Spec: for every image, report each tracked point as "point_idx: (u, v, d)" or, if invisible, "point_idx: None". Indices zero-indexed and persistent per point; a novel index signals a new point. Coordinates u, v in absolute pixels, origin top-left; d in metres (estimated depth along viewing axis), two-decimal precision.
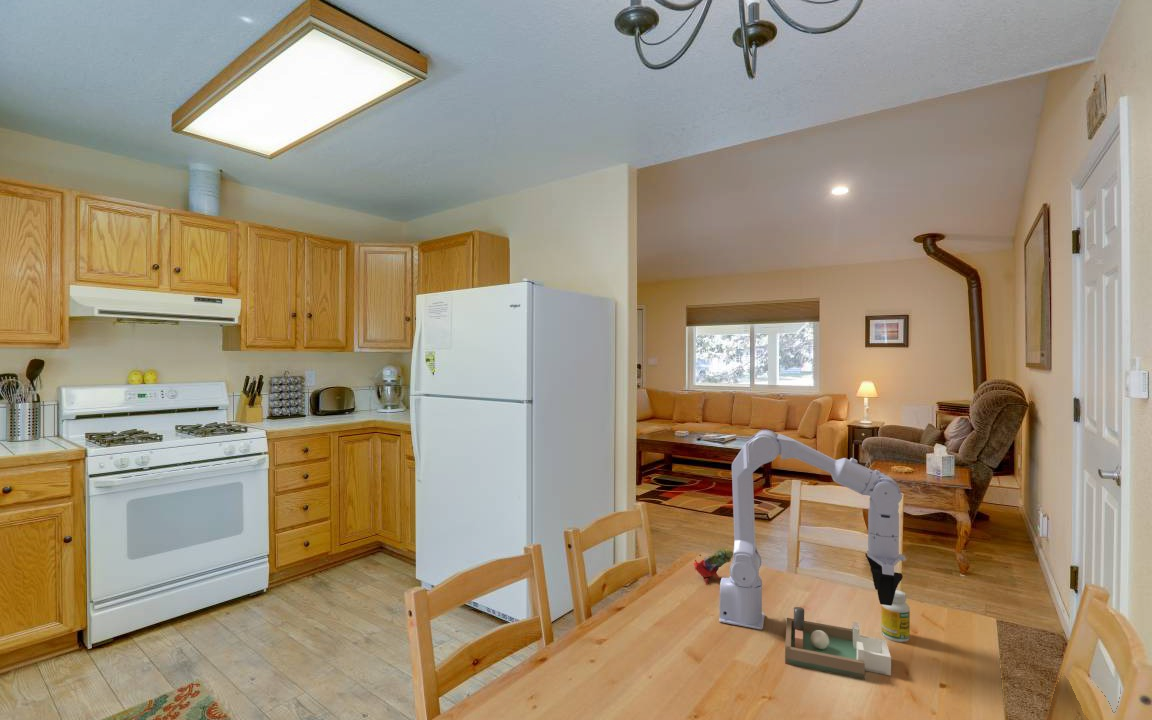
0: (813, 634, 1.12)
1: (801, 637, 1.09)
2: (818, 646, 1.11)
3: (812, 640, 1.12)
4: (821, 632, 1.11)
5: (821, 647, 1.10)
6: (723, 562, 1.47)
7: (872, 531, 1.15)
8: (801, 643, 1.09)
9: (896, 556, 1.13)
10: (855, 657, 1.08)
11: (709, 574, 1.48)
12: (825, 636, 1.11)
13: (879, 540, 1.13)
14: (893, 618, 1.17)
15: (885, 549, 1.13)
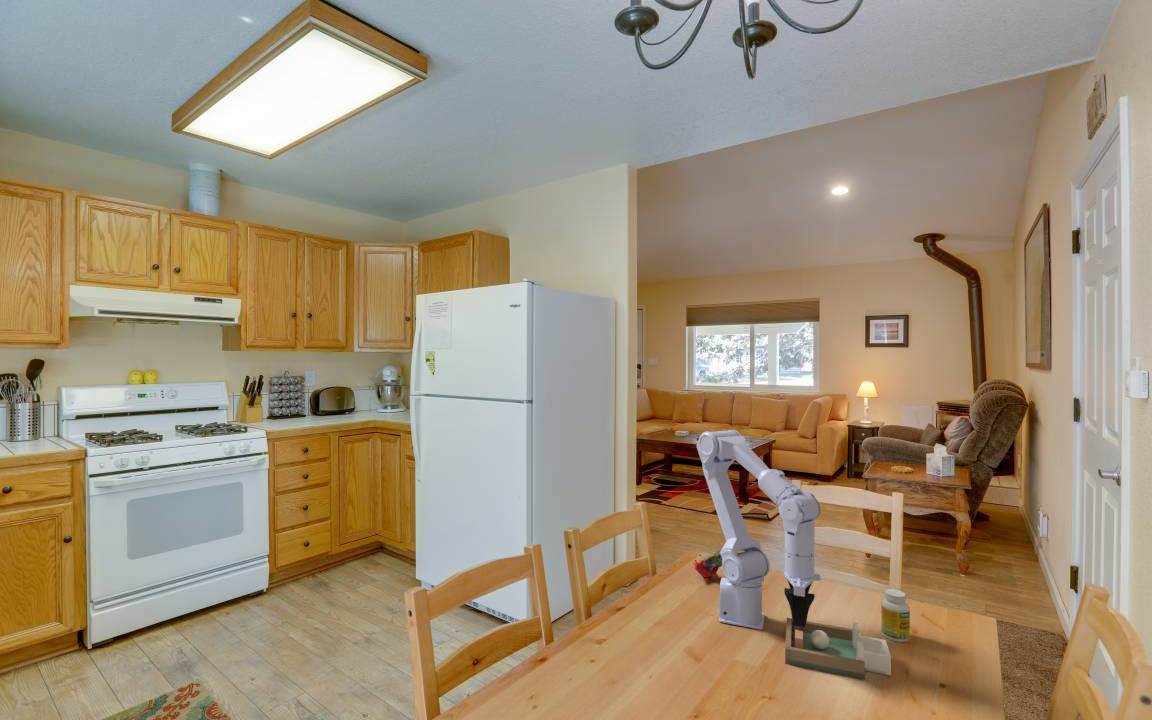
0: (813, 634, 1.12)
1: (801, 637, 1.09)
2: (818, 646, 1.11)
3: (812, 640, 1.12)
4: (821, 632, 1.11)
5: (821, 647, 1.10)
6: None
7: None
8: (801, 643, 1.09)
9: (810, 576, 1.11)
10: (855, 657, 1.08)
11: (709, 574, 1.48)
12: (825, 636, 1.11)
13: (793, 560, 1.11)
14: (893, 618, 1.17)
15: (799, 569, 1.11)
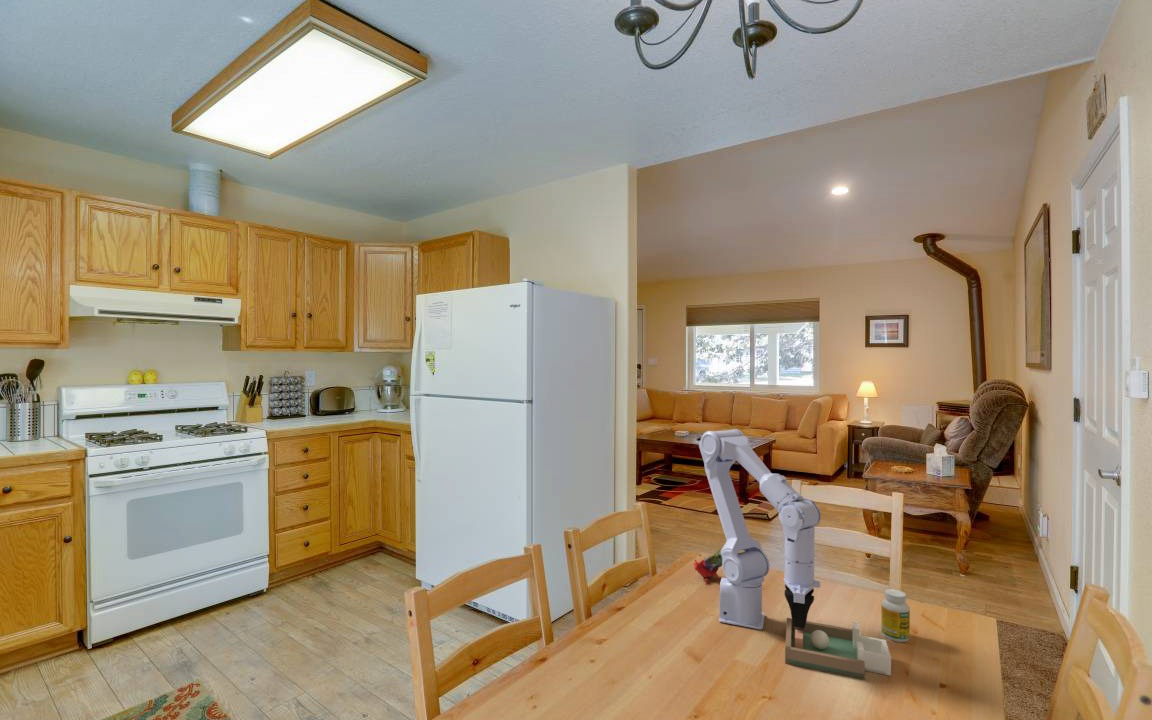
0: (813, 634, 1.12)
1: (801, 637, 1.09)
2: (818, 646, 1.11)
3: (812, 640, 1.12)
4: (821, 632, 1.11)
5: (821, 647, 1.10)
6: None
7: None
8: (801, 643, 1.09)
9: (810, 583, 1.11)
10: (855, 657, 1.08)
11: (709, 574, 1.48)
12: (825, 636, 1.11)
13: (793, 566, 1.11)
14: (893, 618, 1.17)
15: (799, 575, 1.11)
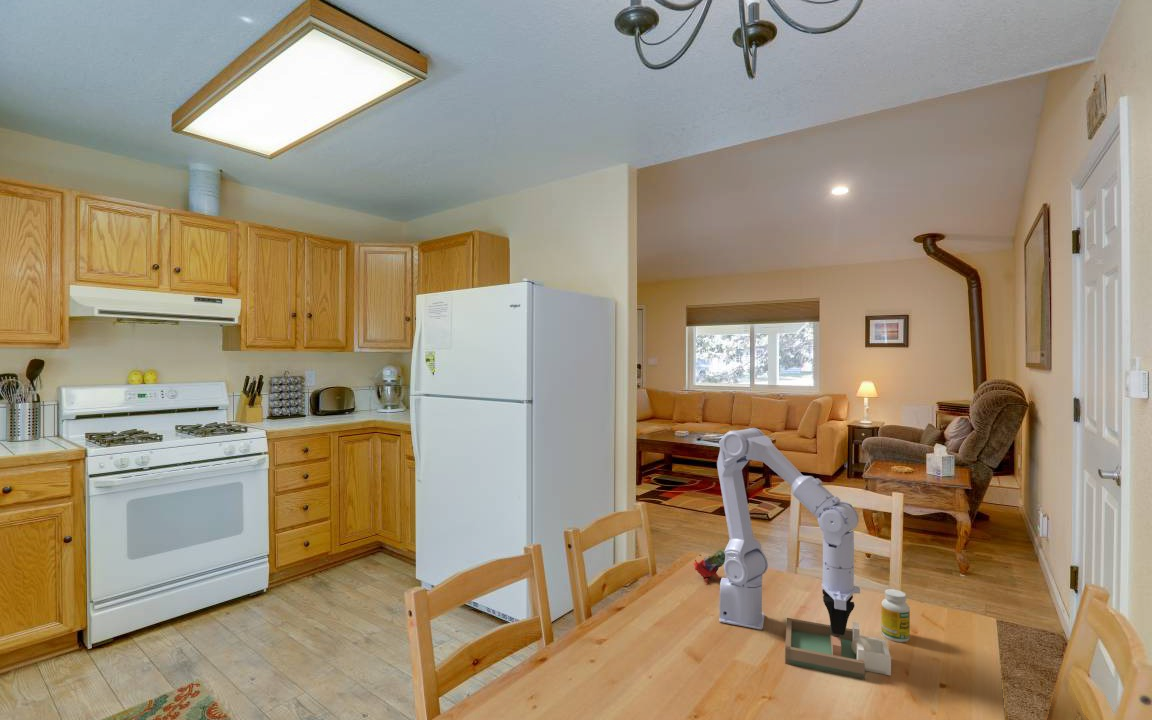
0: None
1: (839, 644, 1.07)
2: None
3: None
4: (852, 648, 1.09)
5: (865, 648, 1.07)
6: (723, 562, 1.47)
7: (823, 560, 1.11)
8: (839, 650, 1.06)
9: (850, 589, 1.08)
10: (855, 657, 1.08)
11: (709, 574, 1.48)
12: (852, 645, 1.09)
13: (833, 572, 1.09)
14: (893, 618, 1.17)
15: (839, 581, 1.08)
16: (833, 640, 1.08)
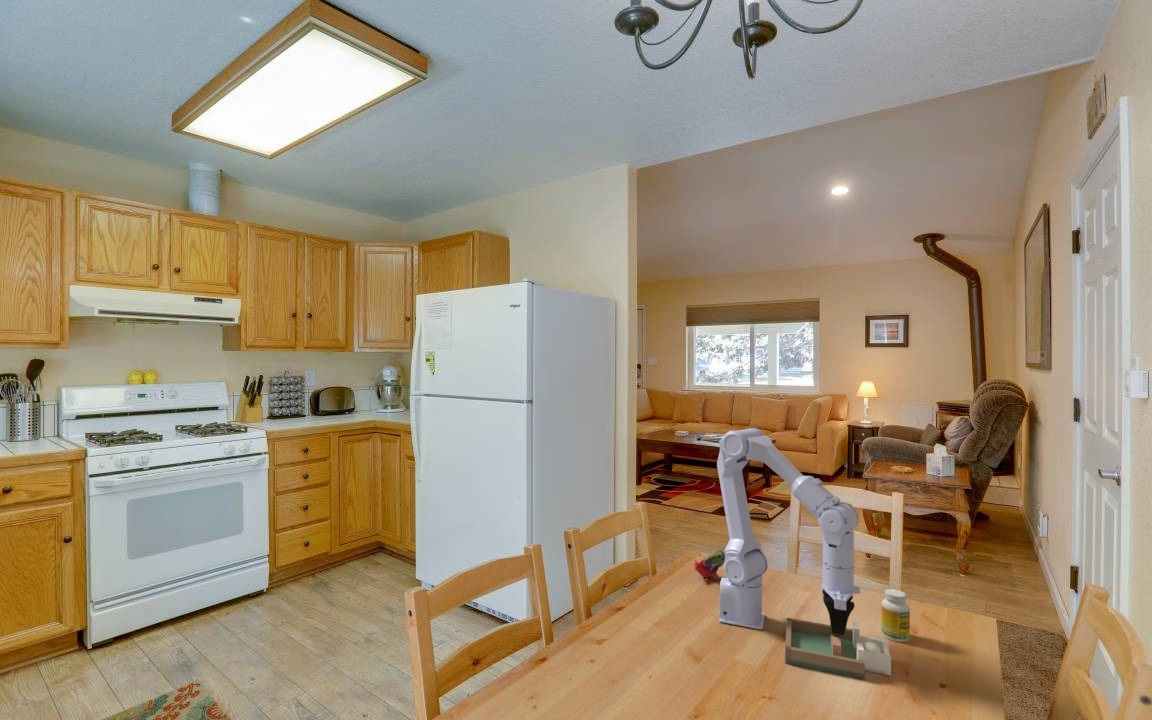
0: None
1: (839, 644, 1.07)
2: None
3: None
4: (865, 644, 1.08)
5: None
6: (723, 562, 1.47)
7: (823, 560, 1.11)
8: (839, 650, 1.06)
9: (850, 589, 1.08)
10: (855, 657, 1.08)
11: (709, 574, 1.48)
12: (870, 645, 1.08)
13: (833, 572, 1.09)
14: (893, 618, 1.17)
15: (839, 581, 1.08)
16: (833, 640, 1.08)
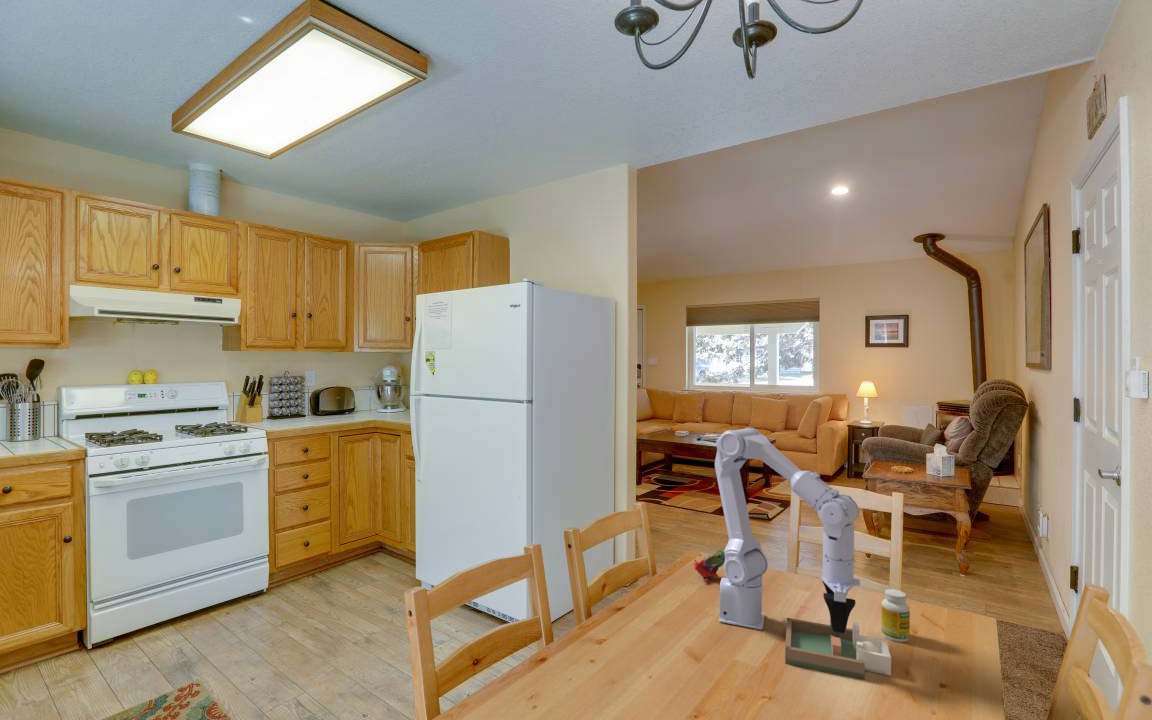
0: None
1: (839, 644, 1.07)
2: None
3: None
4: None
5: None
6: (723, 562, 1.47)
7: (823, 552, 1.11)
8: (839, 650, 1.06)
9: (850, 581, 1.08)
10: (855, 657, 1.08)
11: (709, 574, 1.48)
12: (864, 645, 1.08)
13: (833, 564, 1.09)
14: (893, 618, 1.17)
15: (839, 573, 1.08)
16: (833, 640, 1.08)
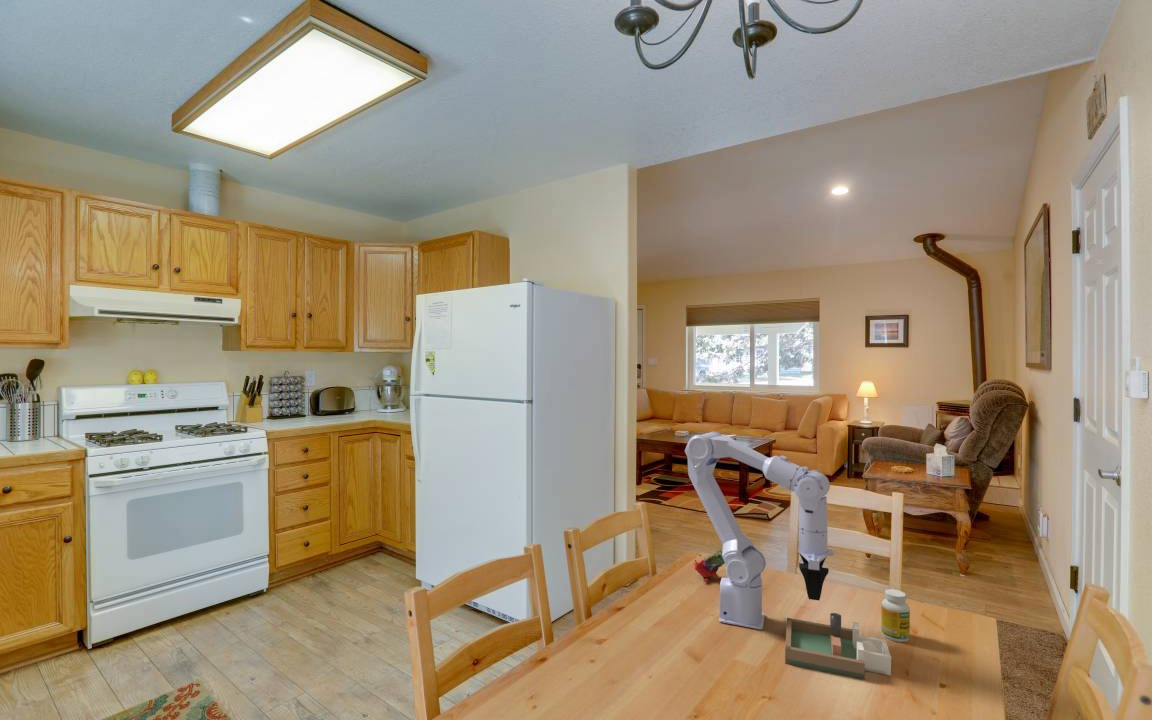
0: None
1: (839, 644, 1.07)
2: None
3: None
4: None
5: None
6: (723, 562, 1.47)
7: (799, 526, 1.17)
8: (839, 650, 1.06)
9: (824, 551, 1.14)
10: (855, 657, 1.08)
11: (709, 574, 1.48)
12: (864, 645, 1.08)
13: (807, 536, 1.15)
14: (893, 618, 1.17)
15: (813, 544, 1.14)
16: (833, 640, 1.08)
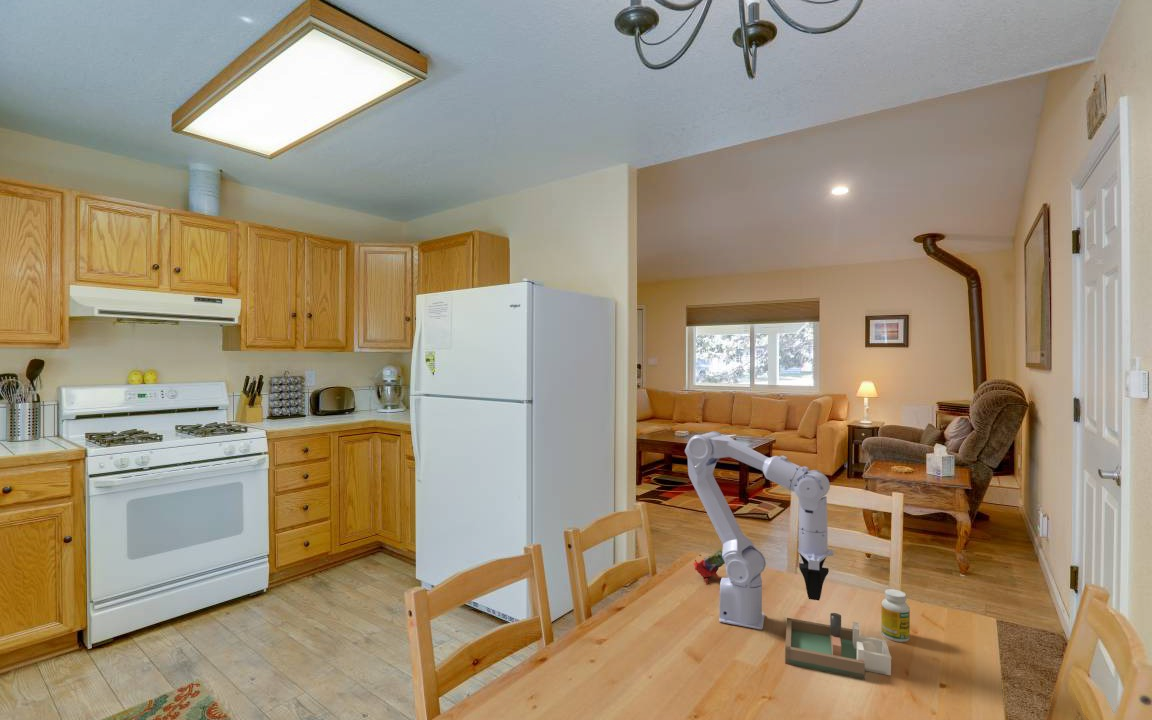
0: None
1: (839, 644, 1.07)
2: None
3: None
4: None
5: None
6: (723, 562, 1.47)
7: (799, 526, 1.17)
8: (839, 650, 1.06)
9: (824, 551, 1.14)
10: (855, 657, 1.08)
11: (709, 574, 1.48)
12: (865, 645, 1.08)
13: (807, 536, 1.15)
14: (893, 618, 1.17)
15: (813, 544, 1.14)
16: (833, 640, 1.08)
